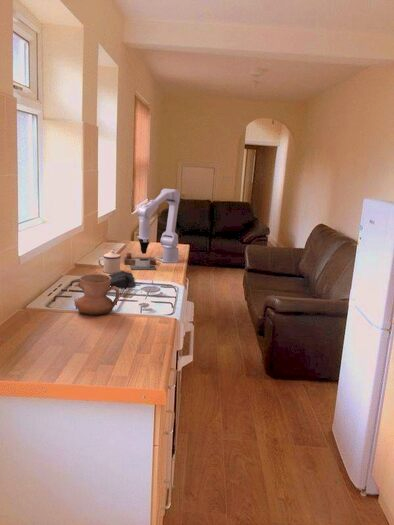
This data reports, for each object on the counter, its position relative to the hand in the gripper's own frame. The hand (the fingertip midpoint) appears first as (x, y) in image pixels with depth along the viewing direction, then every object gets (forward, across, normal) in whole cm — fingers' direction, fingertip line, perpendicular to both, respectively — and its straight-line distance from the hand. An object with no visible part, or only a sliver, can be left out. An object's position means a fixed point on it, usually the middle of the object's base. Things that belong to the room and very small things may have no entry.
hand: (143, 252), depth 253 cm
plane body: (+9, -12, -1) cm, 15 cm away
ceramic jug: (+9, +74, -25) cm, 79 cm away
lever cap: (+8, -1, 0) cm, 8 cm away
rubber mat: (+9, 0, 0) cm, 9 cm away
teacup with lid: (+9, +8, -19) cm, 23 cm away
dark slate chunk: (+10, +29, -14) cm, 33 cm away
